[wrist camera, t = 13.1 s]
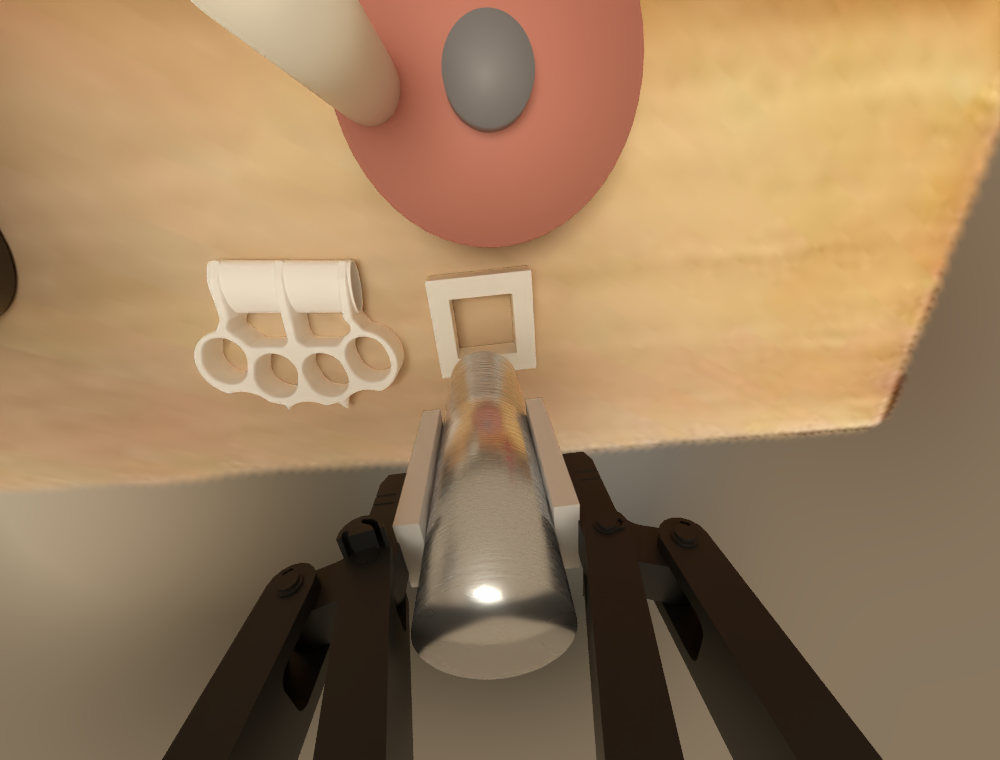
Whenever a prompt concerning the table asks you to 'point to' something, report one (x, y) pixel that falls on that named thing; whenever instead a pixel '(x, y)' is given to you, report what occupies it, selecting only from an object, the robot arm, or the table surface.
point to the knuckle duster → (291, 330)
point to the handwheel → (465, 99)
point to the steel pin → (490, 538)
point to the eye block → (479, 285)
